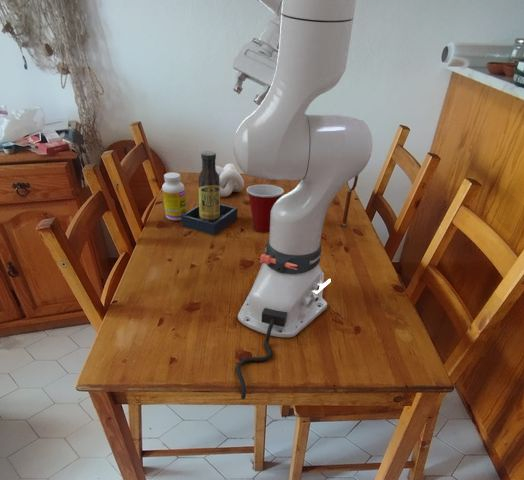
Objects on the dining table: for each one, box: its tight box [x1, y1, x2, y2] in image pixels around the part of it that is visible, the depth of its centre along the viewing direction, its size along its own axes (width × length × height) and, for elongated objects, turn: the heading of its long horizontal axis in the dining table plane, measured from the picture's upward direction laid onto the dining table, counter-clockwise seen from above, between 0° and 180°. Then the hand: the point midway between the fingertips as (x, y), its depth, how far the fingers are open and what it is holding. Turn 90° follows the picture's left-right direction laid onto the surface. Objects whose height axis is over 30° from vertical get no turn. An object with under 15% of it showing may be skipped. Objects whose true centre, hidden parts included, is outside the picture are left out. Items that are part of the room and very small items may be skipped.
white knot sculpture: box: [215, 162, 245, 198], centre depth 143 cm, size 11×12×9 cm
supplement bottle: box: [161, 171, 188, 222], centre depth 126 cm, size 7×7×13 cm
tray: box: [181, 203, 238, 236], centre depth 127 cm, size 14×12×3 cm
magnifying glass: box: [342, 174, 359, 227], centre depth 123 cm, size 9×2×20 cm, turn 4°
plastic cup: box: [246, 184, 285, 233], centre depth 122 cm, size 11×11×12 cm
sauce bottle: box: [198, 150, 221, 223], centre depth 121 cm, size 7×6×20 cm
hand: (246, 97), depth 110 cm, fingers open, 8 cm apart
